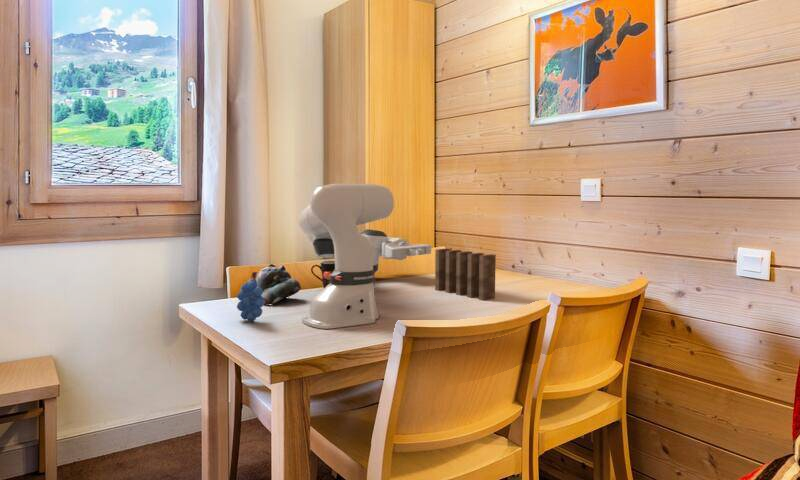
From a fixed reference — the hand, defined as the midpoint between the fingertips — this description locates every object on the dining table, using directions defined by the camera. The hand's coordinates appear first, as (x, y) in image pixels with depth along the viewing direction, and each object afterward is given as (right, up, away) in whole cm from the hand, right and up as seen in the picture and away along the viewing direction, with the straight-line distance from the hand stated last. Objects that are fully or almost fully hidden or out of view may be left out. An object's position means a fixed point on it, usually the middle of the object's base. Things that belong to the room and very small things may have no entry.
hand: (421, 252), depth 216 cm
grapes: (-50, -19, -57) cm, 78 cm away
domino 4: (+18, -15, -22) cm, 32 cm away
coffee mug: (-35, -13, -7) cm, 38 cm away
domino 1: (+8, -13, -9) cm, 18 cm away
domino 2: (+11, -14, -13) cm, 22 cm away
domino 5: (+21, -15, -26) cm, 37 cm away
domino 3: (+15, -14, -17) cm, 27 cm away
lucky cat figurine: (-50, -16, -30) cm, 60 cm away
